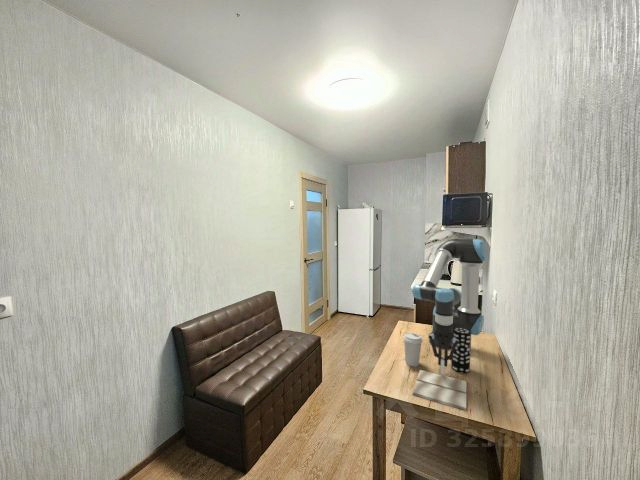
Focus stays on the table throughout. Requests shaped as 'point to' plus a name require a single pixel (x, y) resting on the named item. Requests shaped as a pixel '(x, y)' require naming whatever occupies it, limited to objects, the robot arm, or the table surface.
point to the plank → (442, 381)
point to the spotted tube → (461, 350)
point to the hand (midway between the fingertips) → (442, 372)
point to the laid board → (440, 395)
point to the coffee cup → (412, 348)
